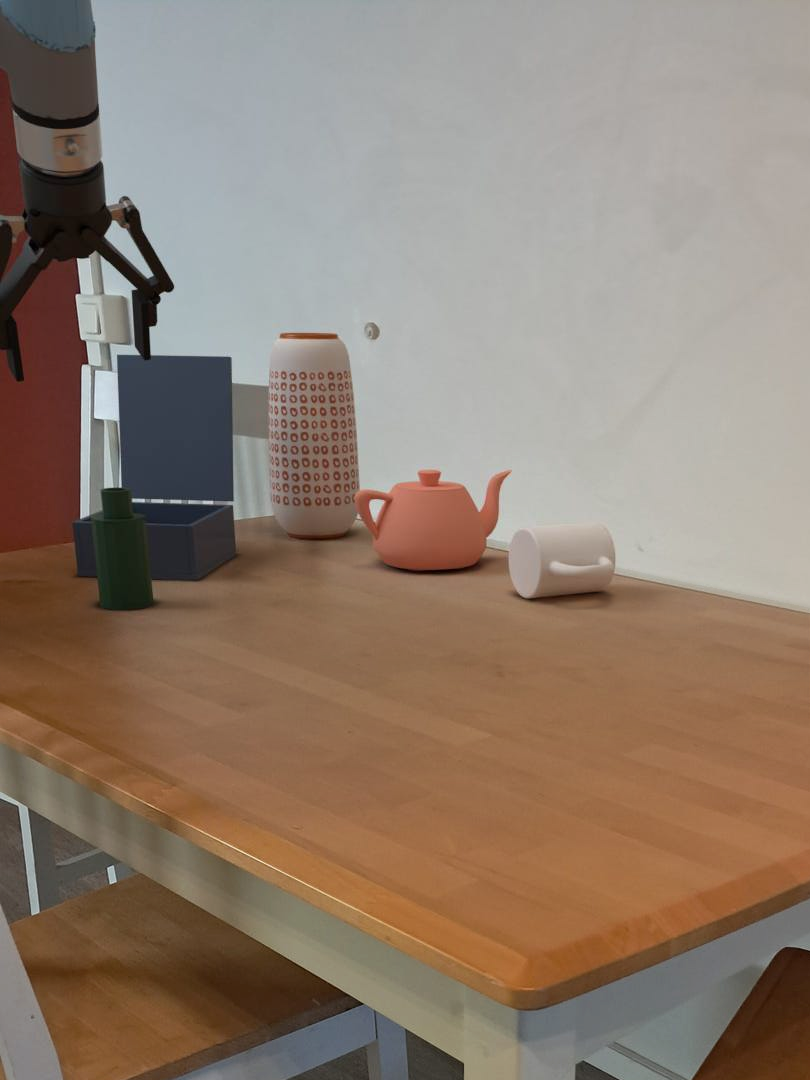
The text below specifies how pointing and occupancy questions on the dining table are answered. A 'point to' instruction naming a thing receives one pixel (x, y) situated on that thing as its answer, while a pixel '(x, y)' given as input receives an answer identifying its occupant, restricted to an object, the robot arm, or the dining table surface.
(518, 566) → the mug
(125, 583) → the bottle
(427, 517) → the teapot
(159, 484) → the chest lid
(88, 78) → the robot arm
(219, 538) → the chest
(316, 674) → the dining table surface
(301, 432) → the white patterned vase
